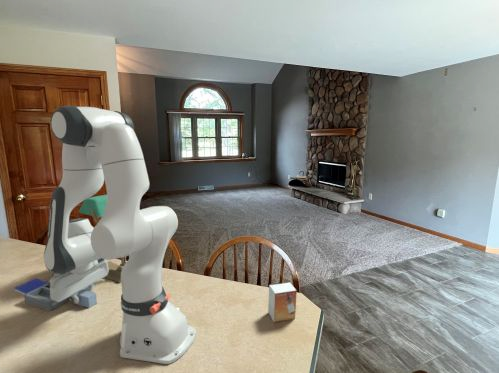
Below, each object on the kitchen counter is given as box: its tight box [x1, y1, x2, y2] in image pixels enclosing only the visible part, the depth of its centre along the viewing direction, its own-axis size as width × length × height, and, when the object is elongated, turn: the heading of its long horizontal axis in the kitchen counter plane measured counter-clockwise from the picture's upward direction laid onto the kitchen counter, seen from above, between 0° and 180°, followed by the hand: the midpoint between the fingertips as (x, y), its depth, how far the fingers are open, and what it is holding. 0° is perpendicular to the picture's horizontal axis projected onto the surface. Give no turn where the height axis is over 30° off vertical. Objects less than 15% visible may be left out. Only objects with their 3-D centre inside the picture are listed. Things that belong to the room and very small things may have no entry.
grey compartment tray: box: [23, 284, 88, 312], centre depth 102 cm, size 13×17×3 cm
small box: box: [267, 282, 298, 323], centre depth 91 cm, size 8×6×10 cm
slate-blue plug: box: [70, 289, 98, 309], centre depth 97 cm, size 9×3×4 cm, turn 70°
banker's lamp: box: [78, 194, 127, 284], centre depth 117 cm, size 16×21×35 cm
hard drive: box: [13, 278, 48, 295], centre depth 106 cm, size 2×8×12 cm
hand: (83, 298), depth 97 cm, fingers closed on slate-blue plug, 3 cm apart
